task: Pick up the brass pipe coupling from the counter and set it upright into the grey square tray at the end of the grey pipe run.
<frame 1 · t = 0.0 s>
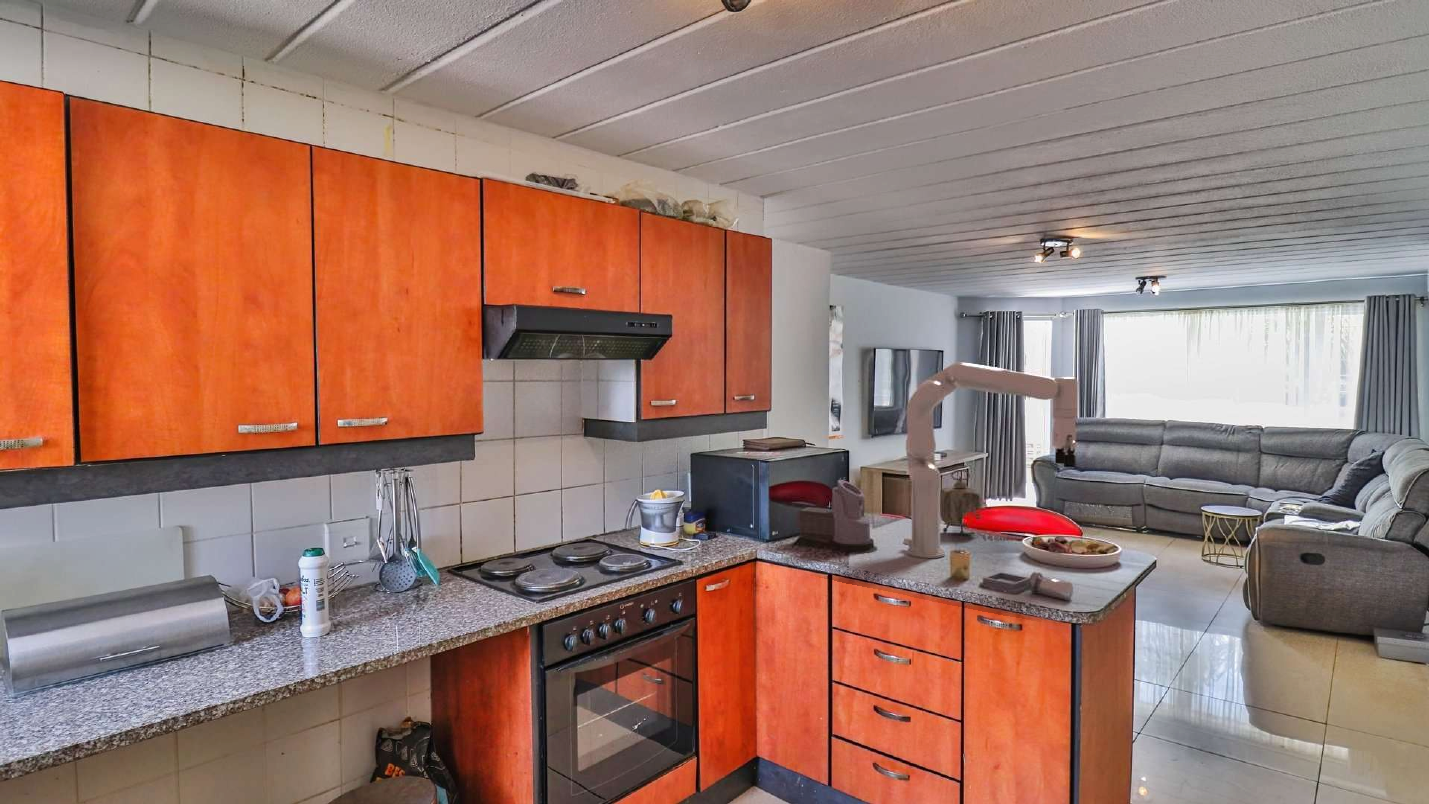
hand: (1064, 465, 248), 31 cm above the countertop, tool pointing down, fingers open, 9 cm apart
bowl: (1070, 559, 248), on the countertop
tabletop clock: (960, 534, 287), on the countertop
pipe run: (1050, 596, 207), on the countertop
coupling: (959, 578, 226), on the countertop
juicer: (836, 546, 270), on the countertop
grey square tray: (1006, 586, 217), on the countertop
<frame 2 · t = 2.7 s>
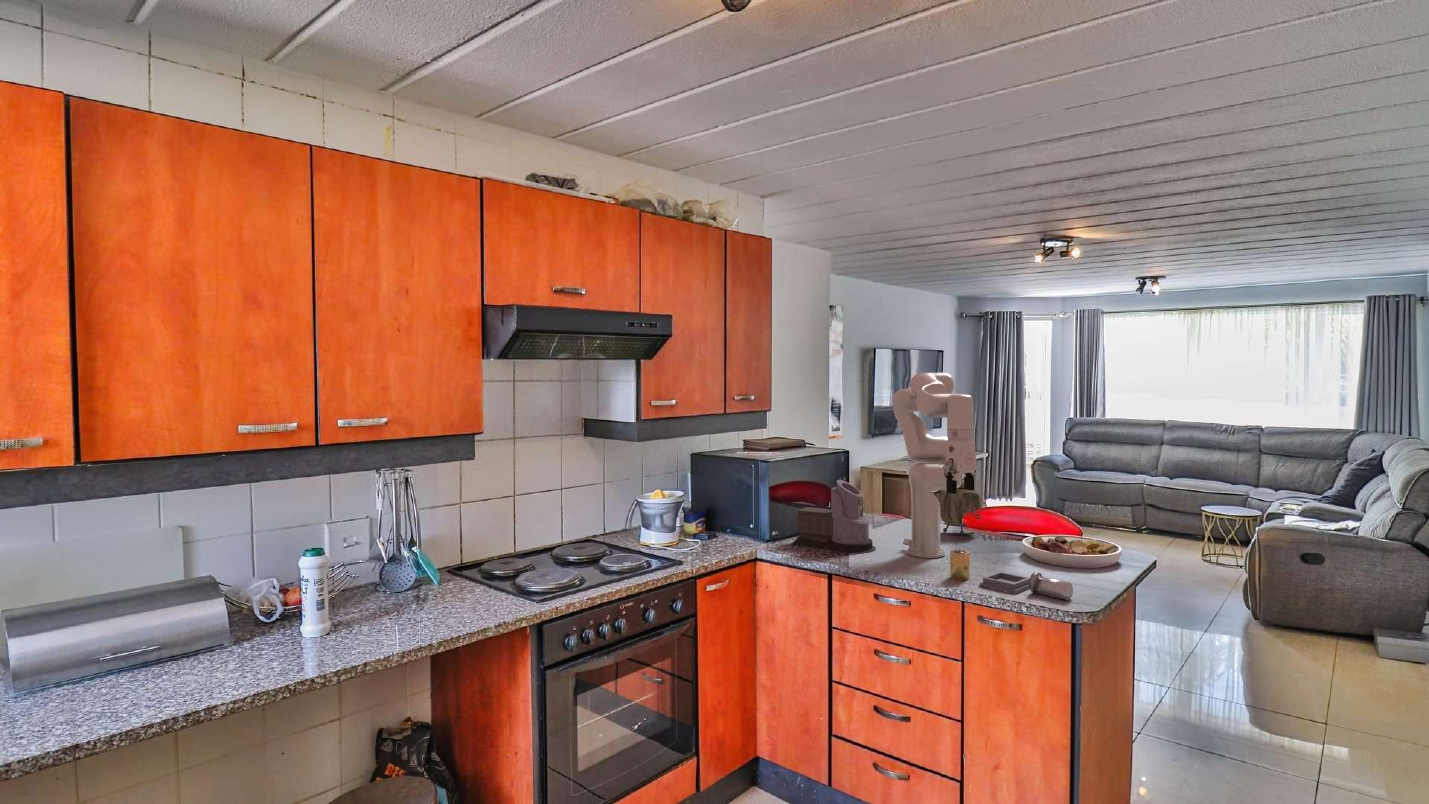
hand: (960, 491, 225), 27 cm above the countertop, tool pointing down, fingers open, 9 cm apart
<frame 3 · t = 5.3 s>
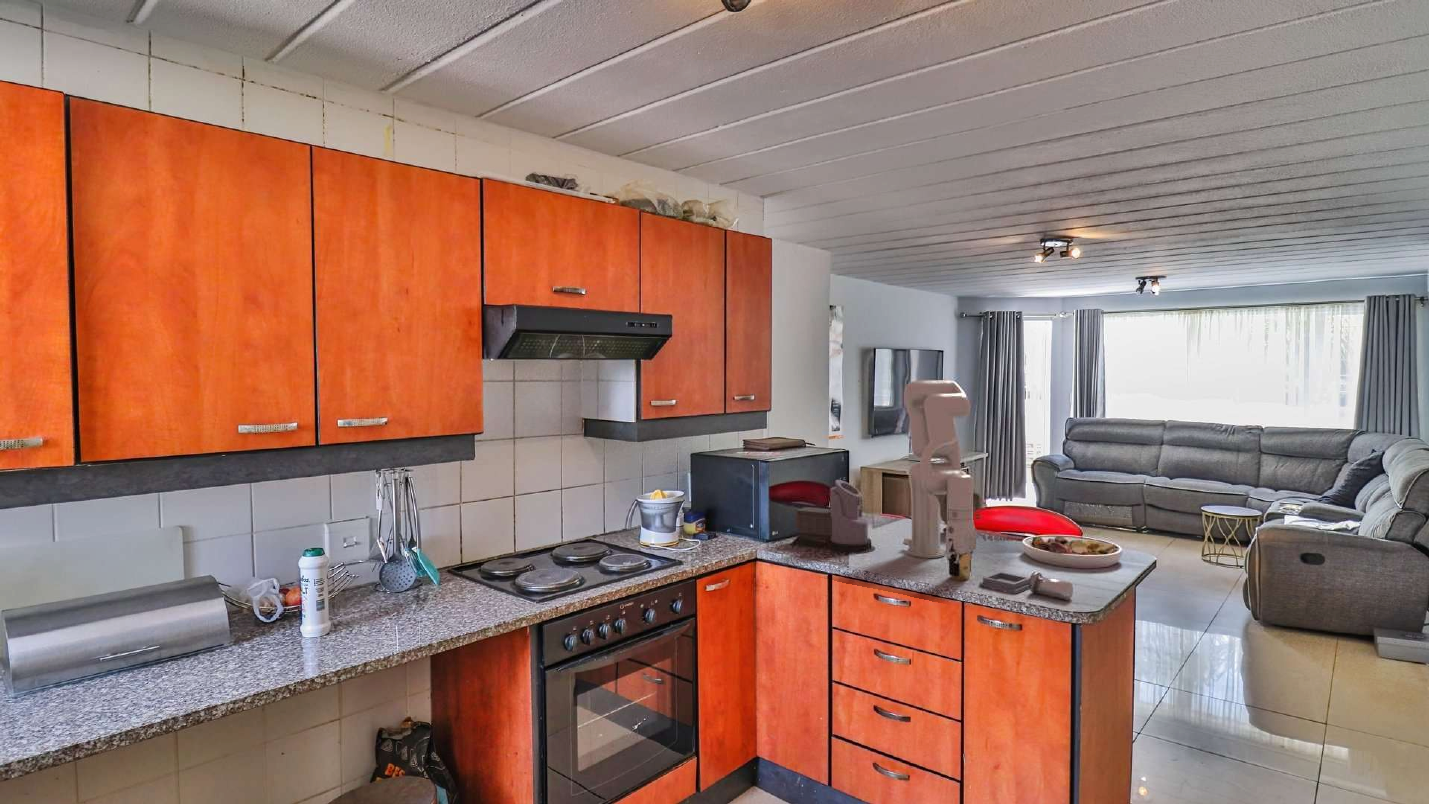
hand: (959, 573, 226), 2 cm above the countertop, tool pointing down, fingers closed on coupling, 5 cm apart
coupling: (959, 578, 226), on the countertop, touching gripper
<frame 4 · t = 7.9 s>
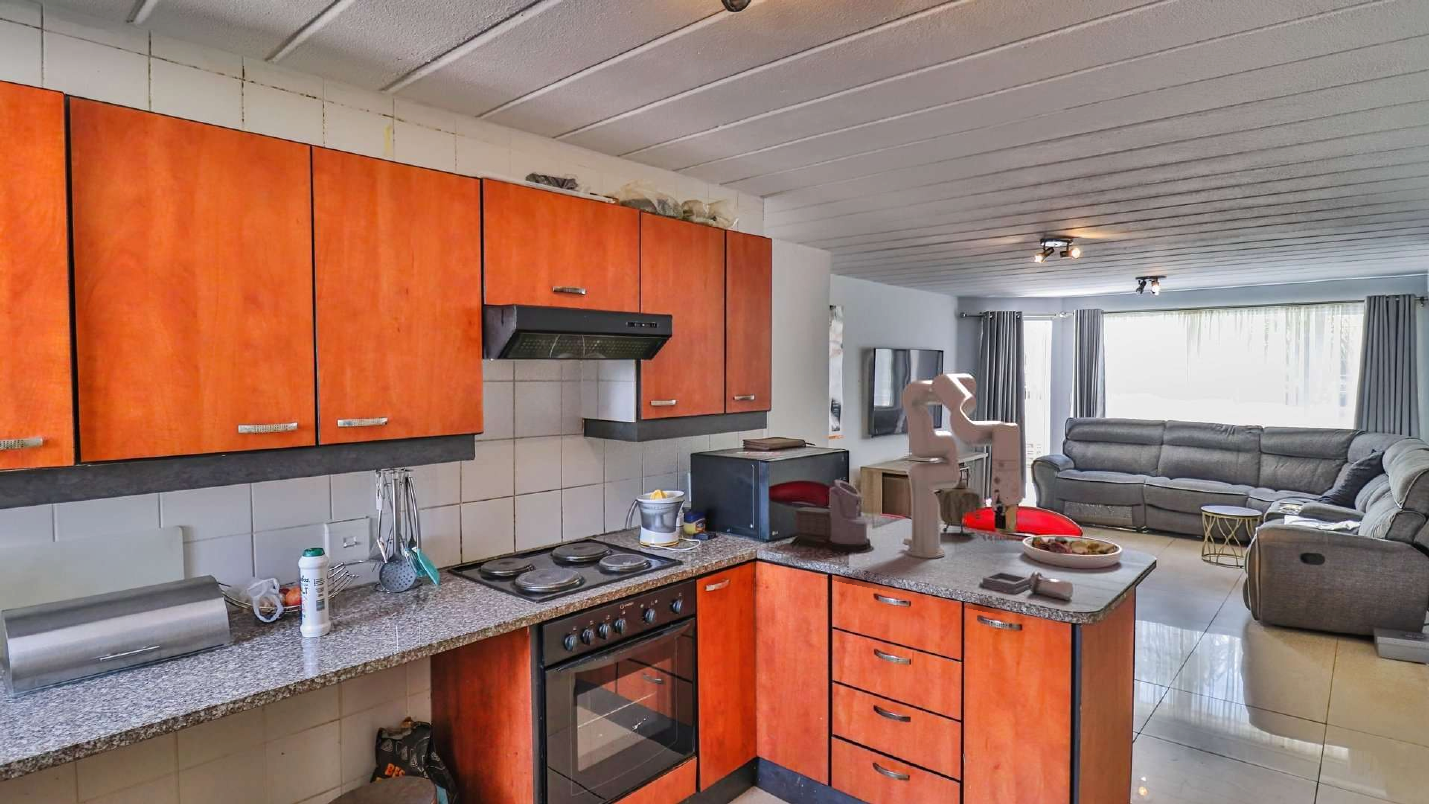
hand: (1005, 526, 216), 18 cm above the countertop, tool pointing down, fingers closed on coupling, 5 cm apart
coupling: (1005, 531, 217), point 16 cm above the countertop, touching gripper
when the fingers open (4 cm above the countertop, at t = 11.0 s): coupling drops 1 cm, resting on grey square tray.
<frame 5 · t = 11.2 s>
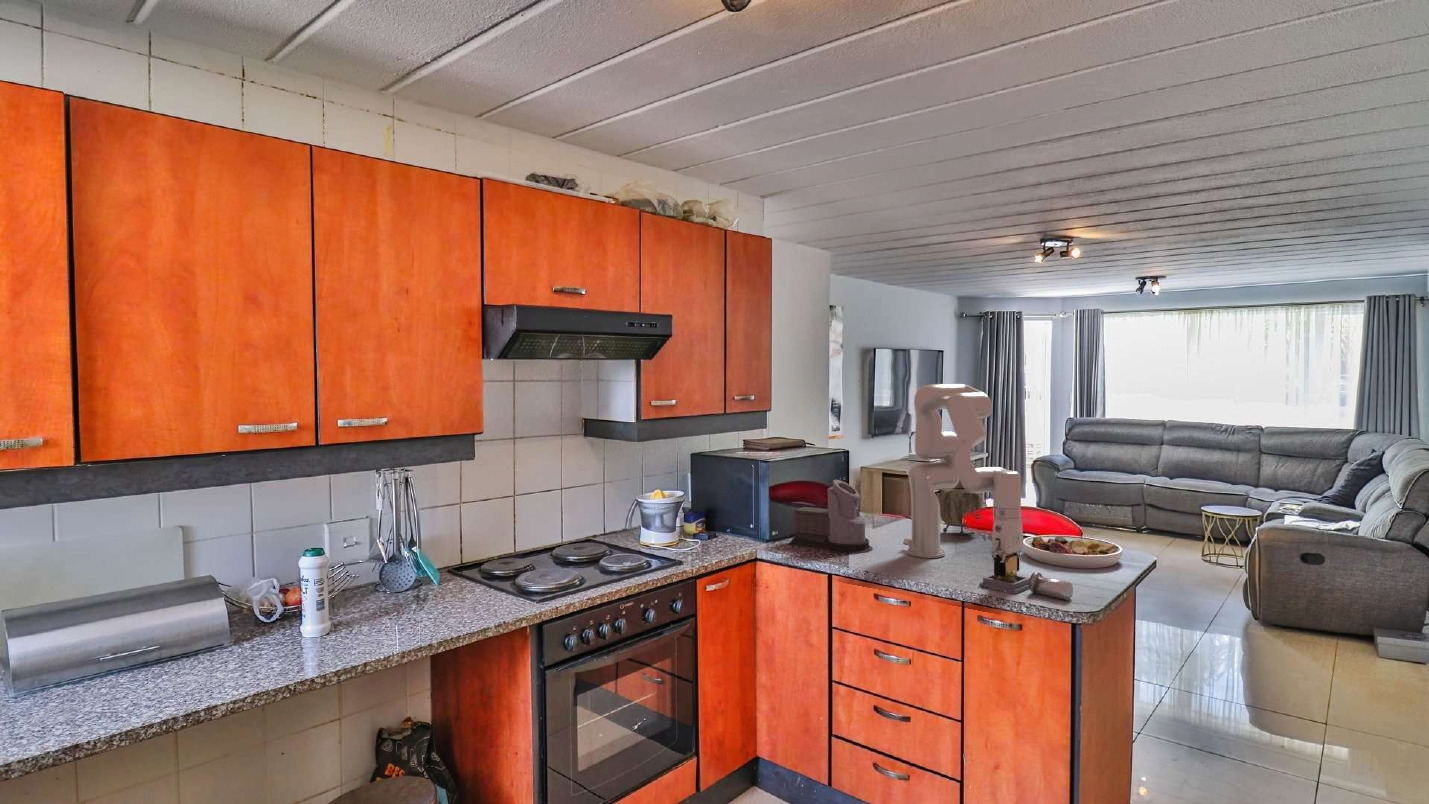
hand: (1006, 572, 217), 4 cm above the countertop, tool pointing down, fingers open, 7 cm apart
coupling: (1006, 582, 217), point 1 cm above the countertop, touching grey square tray
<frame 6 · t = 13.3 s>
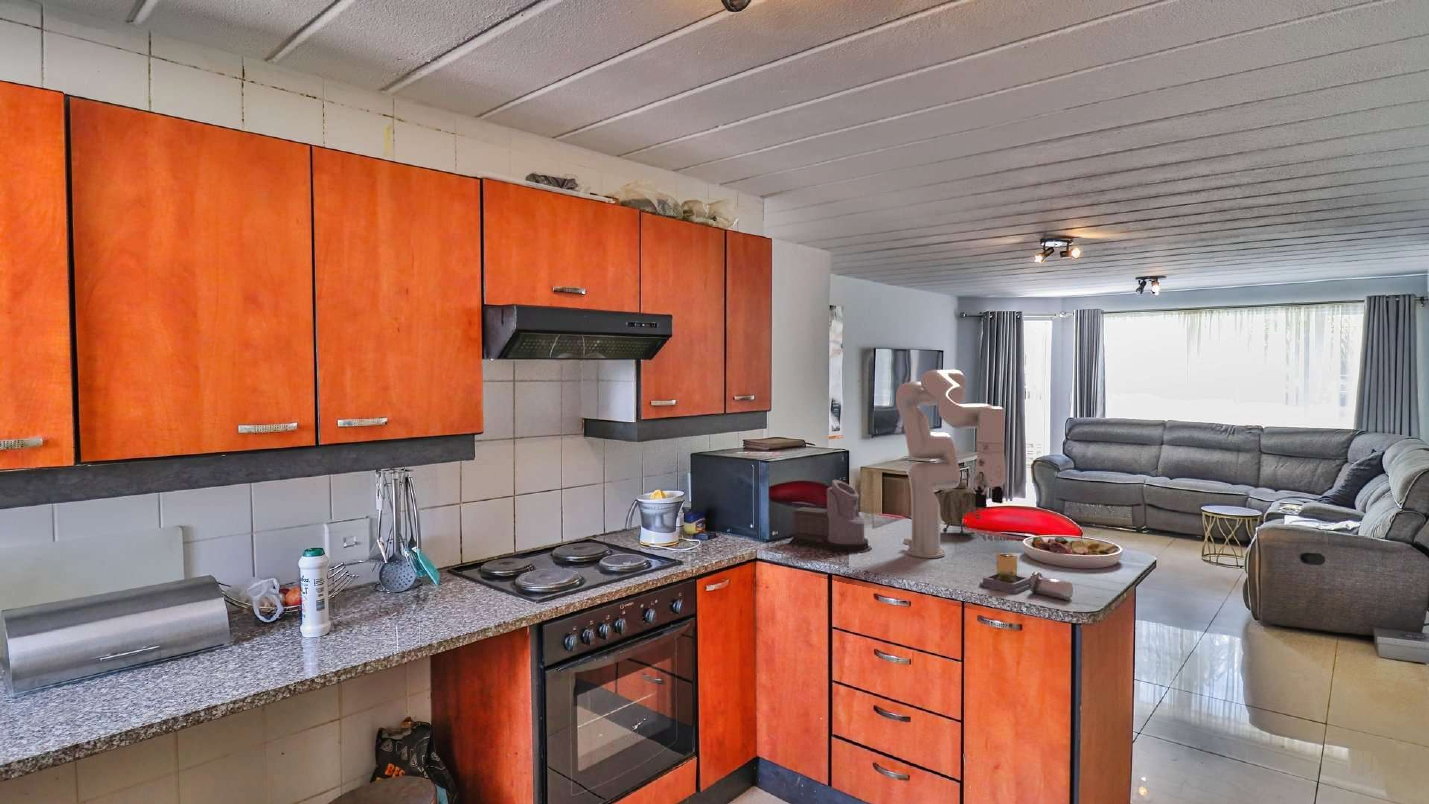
hand: (989, 505, 220), 23 cm above the countertop, tool pointing down, fingers open, 9 cm apart
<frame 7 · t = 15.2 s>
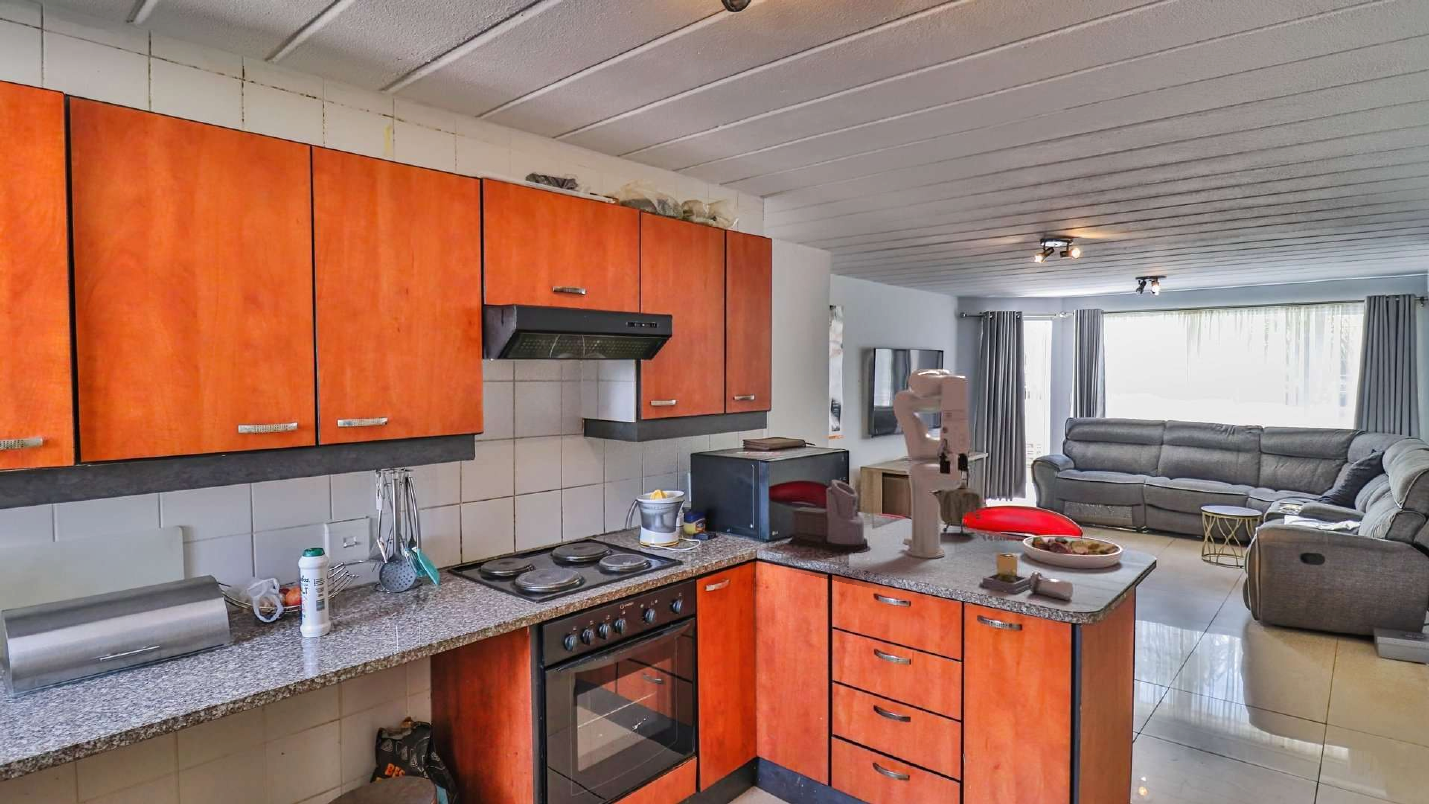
hand: (954, 472, 227), 32 cm above the countertop, tool pointing down, fingers open, 9 cm apart
at the end: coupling 0.1 cm off-centre on the grey square tray, point 1.0 cm above the grey square tray's base; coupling tilted 1°; the gripper is holding nothing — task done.
